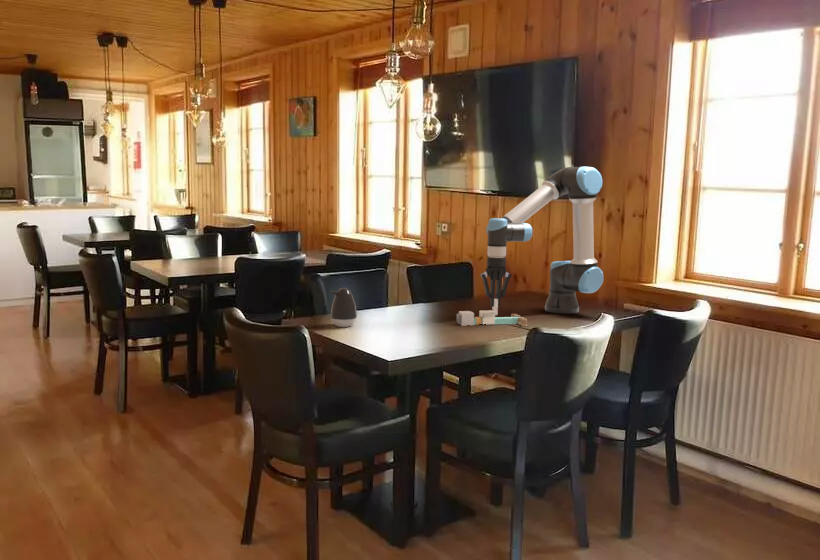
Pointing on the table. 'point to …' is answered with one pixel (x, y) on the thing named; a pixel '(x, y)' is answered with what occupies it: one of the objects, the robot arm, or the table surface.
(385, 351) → the table surface
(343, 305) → the pump dispenser
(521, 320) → the comb
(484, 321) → the sleeve
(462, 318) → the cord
